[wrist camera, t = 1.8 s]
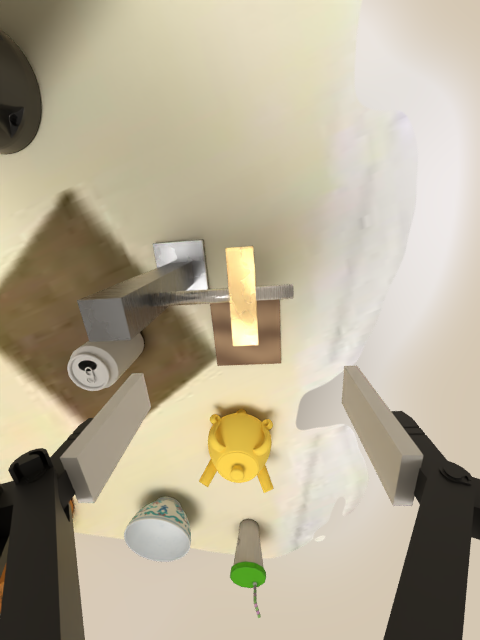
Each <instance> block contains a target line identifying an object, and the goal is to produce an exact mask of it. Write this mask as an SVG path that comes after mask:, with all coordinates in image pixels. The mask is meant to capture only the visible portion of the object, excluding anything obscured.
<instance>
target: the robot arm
mask: <svg viewBox="0 0 480 640" xmlns="http://www.w3.org/2000/svg"><path fill="white" fill-rule="evenodd" d="M40 116H41V100H40V93H39V88H38V84H37V81H36V78H35V75H34V73H33V70H32V68H31V66H30V64H29V62H28V61H27V59H26V57H25V56H24V54H23V53H22V51H21V50H20V49H19V47H18V46H17V45H16V44H15V43H14V42H13V40H12V39H11V38H10V37H8V36H7V35H6V34H5V33H4V32H2V31H1V30H0V154H10V153H14V152H17V151H19V150H21V149H23V148H24V147H26V146H27V145H28V144H29V143H30V142H31V140H32V139H33V138H34V136H35V134H36V132H37V129H38V126H39V122H40ZM342 404H343V406H344V408H345V410H346V412H347V414H348V416H349V418H350V420H351V422H352V424H353V426H354V428H355V430H356V432H357V434H358V436H359V438H360V440H361V442H362V444H363V446H364V448H365V450H366V452H367V454H368V456H369V458H370V460H371V462H372V464H373V466H374V468H375V470H376V472H377V474H378V476H379V478H380V480H381V482H382V484H383V486H384V488H385V490H386V492H387V494H388V496H389V499H390V501H391V503H392V504H393V505H394V506H395V505H396V506H402V505H403V506H412V505H413V500H414V496H415V497H416V499H417V500H418V502H419V504H420V507H419V511H418V514H417V518H416V521H415V525H414V529H413V532H412V536H411V540H410V544H409V547H408V551H407V555H406V558H405V562H404V566H403V569H402V573H401V577H400V581H399V584H398V588H397V592H396V595H395V599H394V603H393V606H392V610H391V614H390V617H389V621H388V625H387V629H386V632H385V636H384V640H462V635H463V624H464V612H465V600H466V590H467V577H468V566H469V555H470V544H471V537H473V538H476V539H479V540H480V479H477V478H474V477H472V476H471V475H470V473H468V472H467V471H466V470H465V469H464V468H462V467H460V466H459V465H457V464H455V463H452V462H449V461H447V460H446V459H445V457H444V456H443V455H442V454H441V452H440V451H439V450H438V449H437V448H436V446H435V445H434V444H433V443H432V442H431V440H430V439H429V438H428V437H427V435H425V433H424V432H423V431H422V430H421V428H419V426H418V425H417V423H416V422H415V421H414V420H413V419H412V418H411V417H410V416H408V415H407V414H405V413H404V412H402V411H390V409H389V408H388V407H387V406H386V404H385V403H384V401H383V400H382V399H381V397H380V396H379V395H378V393H377V392H376V391H375V389H374V388H373V387H372V385H371V384H370V383H369V381H368V380H367V379H366V377H365V376H364V375H363V373H362V372H361V371H360V369H359V368H358V367H357V366H344V379H343V393H342ZM150 408H151V405H150V401H149V396H148V392H147V388H146V383H145V379H144V375H143V373H133V374H131V375H130V377H129V378H128V379H127V380H126V381H125V382H124V384H123V385H122V386H121V387H120V388H119V389H118V391H117V392H116V393H115V394H114V395H113V396H112V398H111V399H110V400H109V401H108V402H107V403H106V405H105V406H104V407H103V408H102V409H101V410H100V412H99V413H98V414H97V415H96V416H95V417H94V418H89V419H87V420H86V421H85V422H83V423H82V424H80V425H79V426H78V427H77V429H76V430H75V431H74V432H73V434H71V435H70V436H69V437H68V439H67V440H66V441H65V442H64V443H63V444H62V445H61V446H60V447H59V449H58V450H57V451H56V452H55V453H54V454H53V455H52V456H51V457H49V455H48V452H47V450H46V449H43V448H41V449H35V450H32V451H29V452H27V453H25V454H23V455H22V456H20V457H19V458H17V459H16V460H15V461H14V462H13V463H12V464H11V465H10V468H9V470H8V471H9V472H10V474H11V476H12V478H13V480H14V481H11V482H8V483H4V484H0V578H1V575H2V573H3V570H4V567H5V565H6V571H5V579H4V587H3V596H2V604H1V612H0V640H85V637H84V626H83V617H82V608H81V597H80V588H79V579H78V569H77V558H76V549H75V539H74V529H73V519H72V510H71V505H70V503H69V502H70V500H71V499H72V497H73V496H74V494H75V495H76V498H77V500H78V503H95V501H96V499H97V498H98V496H99V494H100V493H101V491H102V489H103V488H104V486H105V484H106V483H107V481H108V479H109V477H110V476H111V474H112V472H113V471H114V469H115V467H116V466H117V464H118V462H119V460H120V459H121V457H122V455H123V454H124V452H125V450H126V449H127V447H128V445H129V444H130V442H131V440H132V438H133V437H134V435H135V433H136V432H137V430H138V428H139V427H140V425H141V423H142V421H143V420H144V418H145V416H146V415H147V413H148V411H149V410H150Z"/></svg>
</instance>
